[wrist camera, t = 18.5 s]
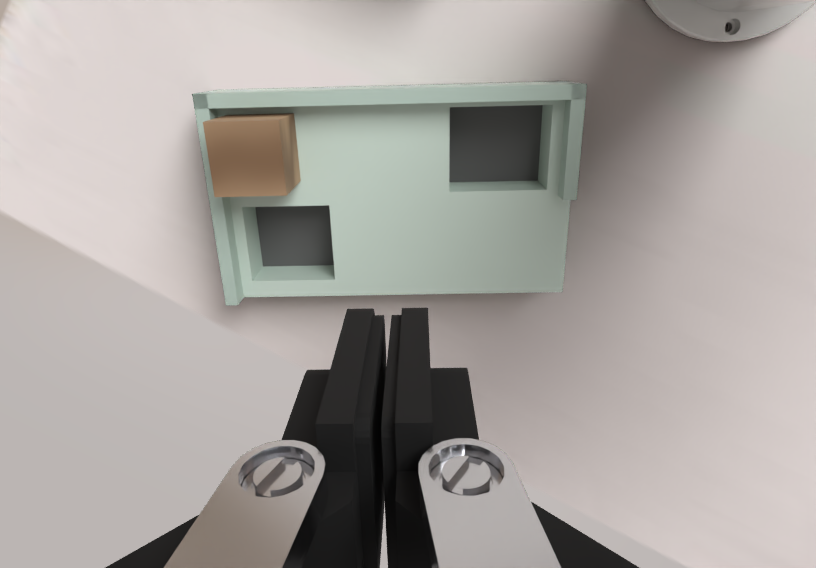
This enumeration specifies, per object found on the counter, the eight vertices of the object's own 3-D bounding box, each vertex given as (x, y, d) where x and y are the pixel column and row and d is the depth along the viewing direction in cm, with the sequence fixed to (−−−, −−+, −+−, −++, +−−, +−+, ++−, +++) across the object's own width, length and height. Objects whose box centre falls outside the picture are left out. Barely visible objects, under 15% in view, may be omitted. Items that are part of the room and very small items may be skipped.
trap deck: (217, 89, 35) (192, 94, 31) (567, 81, 35) (586, 84, 31) (244, 280, 40) (225, 305, 36) (552, 275, 40) (567, 299, 36)
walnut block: (226, 114, 33) (202, 122, 29) (294, 113, 33) (278, 120, 29) (236, 182, 35) (214, 197, 31) (300, 180, 34) (286, 195, 31)
